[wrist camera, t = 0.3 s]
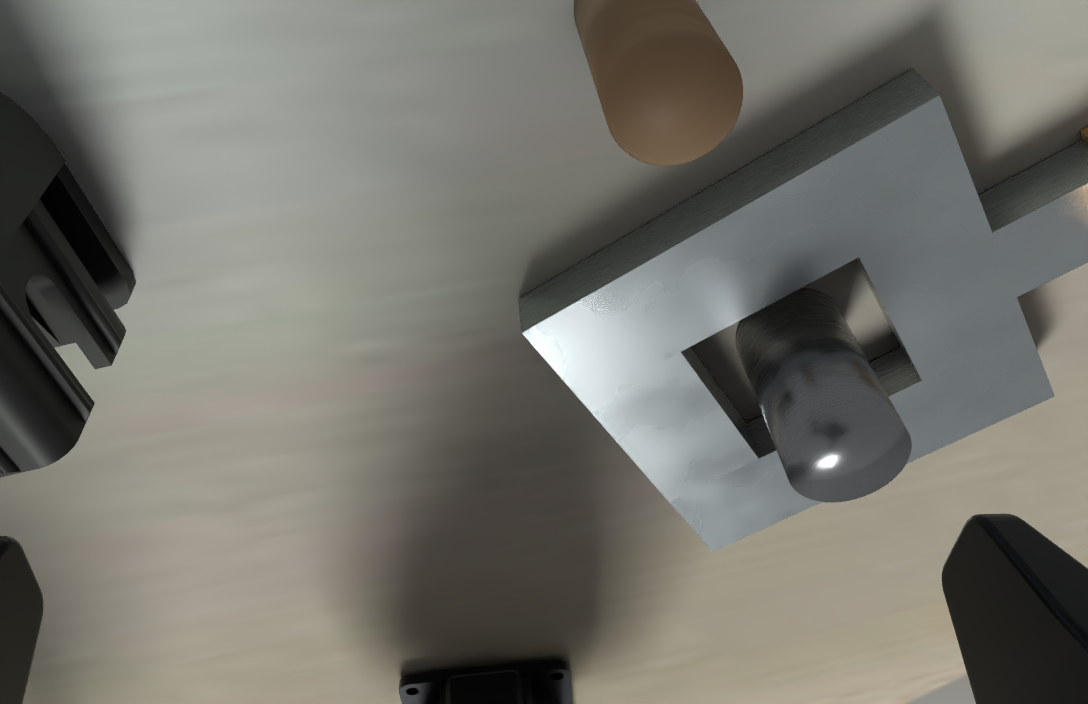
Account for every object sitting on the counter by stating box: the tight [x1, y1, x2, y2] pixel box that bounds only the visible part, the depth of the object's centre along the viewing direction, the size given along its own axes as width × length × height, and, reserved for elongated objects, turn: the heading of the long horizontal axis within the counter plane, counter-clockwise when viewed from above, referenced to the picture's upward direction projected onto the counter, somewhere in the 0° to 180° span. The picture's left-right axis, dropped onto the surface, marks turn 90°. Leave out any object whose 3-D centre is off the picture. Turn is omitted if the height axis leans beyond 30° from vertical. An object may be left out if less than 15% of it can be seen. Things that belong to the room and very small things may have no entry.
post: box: [736, 289, 912, 502], centre depth 24 cm, size 3×3×5 cm
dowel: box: [574, 0, 743, 166], centre depth 18 cm, size 2×2×5 cm
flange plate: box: [518, 69, 1088, 552], centre depth 23 cm, size 17×11×4 cm, turn 123°
